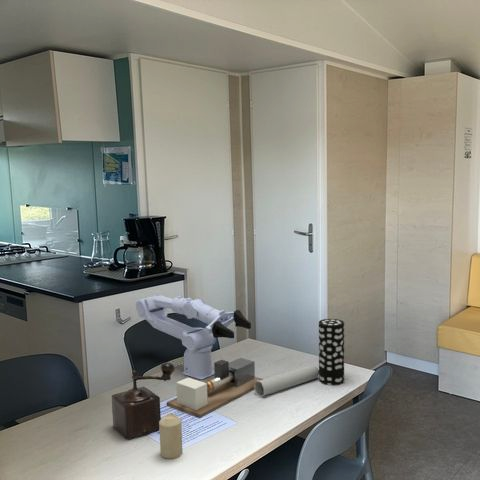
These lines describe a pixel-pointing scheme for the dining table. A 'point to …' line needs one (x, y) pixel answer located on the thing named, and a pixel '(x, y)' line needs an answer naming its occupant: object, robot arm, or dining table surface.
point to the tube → (285, 380)
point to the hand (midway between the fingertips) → (241, 330)
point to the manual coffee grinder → (138, 407)
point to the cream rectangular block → (192, 393)
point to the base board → (217, 398)
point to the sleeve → (242, 371)
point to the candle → (170, 436)
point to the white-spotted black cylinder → (331, 351)
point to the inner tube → (220, 375)
